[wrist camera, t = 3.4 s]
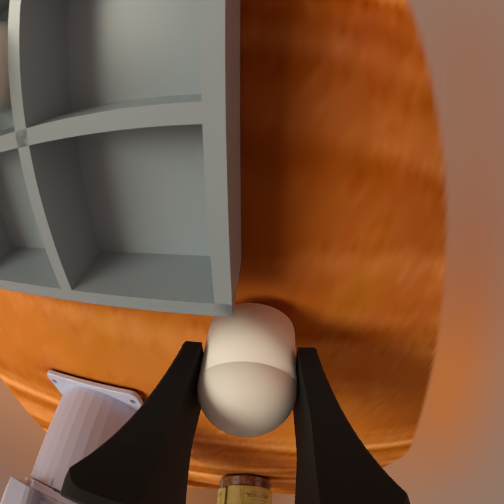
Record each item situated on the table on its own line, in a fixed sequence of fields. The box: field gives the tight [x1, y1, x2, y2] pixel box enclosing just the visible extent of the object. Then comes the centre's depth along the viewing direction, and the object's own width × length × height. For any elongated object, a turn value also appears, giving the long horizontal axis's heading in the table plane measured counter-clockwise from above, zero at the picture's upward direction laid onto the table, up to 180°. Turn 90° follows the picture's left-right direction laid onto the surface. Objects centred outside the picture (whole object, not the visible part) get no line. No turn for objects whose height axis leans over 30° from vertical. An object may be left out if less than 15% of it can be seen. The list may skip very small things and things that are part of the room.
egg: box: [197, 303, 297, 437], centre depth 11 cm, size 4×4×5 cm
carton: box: [0, 0, 242, 317], centre depth 8 cm, size 12×17×3 cm
